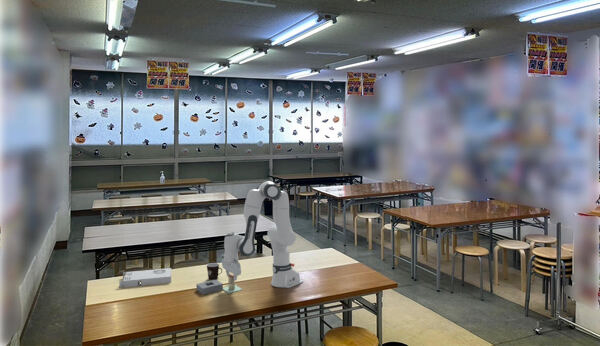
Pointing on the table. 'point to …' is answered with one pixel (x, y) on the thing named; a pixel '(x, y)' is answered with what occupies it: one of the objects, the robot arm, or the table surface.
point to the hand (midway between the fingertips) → (231, 278)
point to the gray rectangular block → (209, 286)
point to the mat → (231, 290)
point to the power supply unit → (146, 277)
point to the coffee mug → (213, 271)
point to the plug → (231, 282)
